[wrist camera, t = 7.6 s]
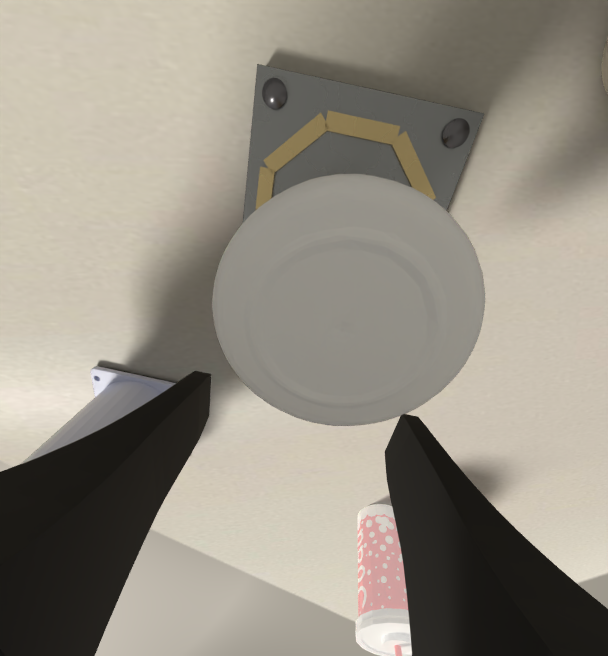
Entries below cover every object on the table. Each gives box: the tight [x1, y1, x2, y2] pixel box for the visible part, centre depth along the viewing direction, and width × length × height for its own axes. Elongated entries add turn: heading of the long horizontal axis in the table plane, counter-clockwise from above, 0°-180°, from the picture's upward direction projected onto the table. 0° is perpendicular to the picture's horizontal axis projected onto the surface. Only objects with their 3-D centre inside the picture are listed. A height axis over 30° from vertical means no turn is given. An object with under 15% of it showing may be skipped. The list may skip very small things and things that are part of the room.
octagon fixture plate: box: [243, 64, 484, 222], centre depth 18 cm, size 15×11×1 cm
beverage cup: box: [355, 504, 412, 656], centre depth 23 cm, size 6×6×14 cm
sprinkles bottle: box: [212, 174, 485, 426], centre depth 11 cm, size 5×5×14 cm
